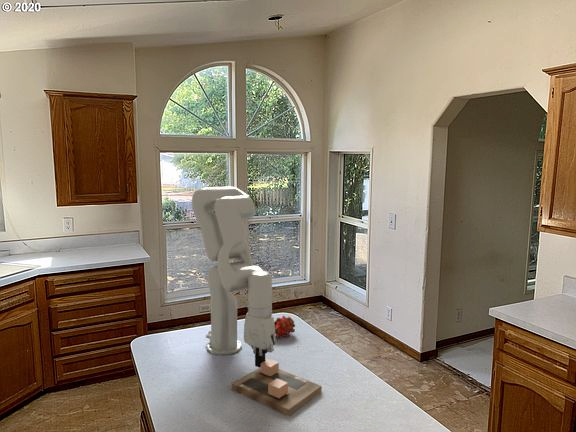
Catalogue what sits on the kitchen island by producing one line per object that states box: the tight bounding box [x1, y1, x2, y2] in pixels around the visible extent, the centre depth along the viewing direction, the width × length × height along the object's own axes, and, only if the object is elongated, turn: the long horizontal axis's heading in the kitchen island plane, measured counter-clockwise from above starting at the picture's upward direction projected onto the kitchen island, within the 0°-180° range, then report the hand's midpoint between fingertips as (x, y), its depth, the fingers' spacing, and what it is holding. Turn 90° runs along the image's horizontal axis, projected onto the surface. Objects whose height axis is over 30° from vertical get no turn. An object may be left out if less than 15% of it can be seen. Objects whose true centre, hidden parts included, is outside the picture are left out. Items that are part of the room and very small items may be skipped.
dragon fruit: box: [274, 315, 296, 339], centre depth 171 cm, size 8×8×12 cm
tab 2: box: [268, 378, 288, 398], centre depth 124 cm, size 4×4×3 cm
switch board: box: [230, 367, 322, 417], centre depth 130 cm, size 22×16×2 cm
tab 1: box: [261, 358, 280, 376], centre depth 137 cm, size 4×4×3 cm
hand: (260, 365), depth 139 cm, fingers closed
